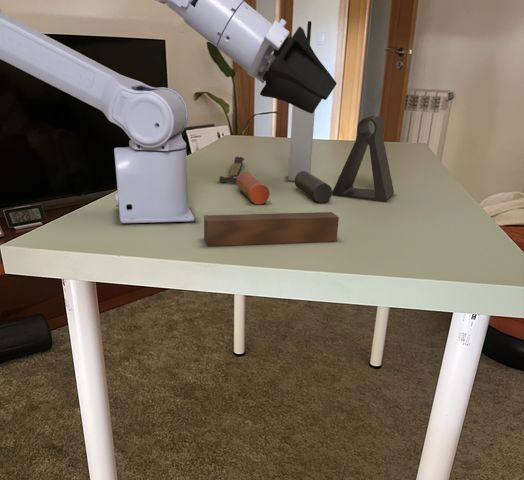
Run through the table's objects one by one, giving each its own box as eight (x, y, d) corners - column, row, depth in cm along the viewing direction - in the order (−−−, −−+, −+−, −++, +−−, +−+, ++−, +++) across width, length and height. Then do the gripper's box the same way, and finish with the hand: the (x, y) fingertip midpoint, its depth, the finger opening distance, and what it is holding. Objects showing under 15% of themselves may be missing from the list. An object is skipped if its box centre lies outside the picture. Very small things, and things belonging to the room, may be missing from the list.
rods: (249, 204, 83) (250, 184, 82) (235, 190, 91) (236, 171, 90) (331, 203, 86) (333, 183, 85) (310, 189, 95) (311, 170, 93)
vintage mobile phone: (309, 177, 104) (321, 22, 92) (309, 182, 99) (321, 20, 87) (289, 176, 104) (298, 21, 92) (288, 181, 99) (297, 19, 88)
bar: (207, 246, 64) (207, 220, 63) (204, 240, 66) (203, 215, 65) (336, 241, 68) (339, 217, 67) (329, 235, 70) (331, 211, 69)
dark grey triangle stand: (331, 195, 91) (339, 116, 85) (342, 188, 96) (349, 113, 90) (386, 202, 88) (397, 120, 82) (393, 194, 93) (405, 117, 87)
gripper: (257, -35, 57) (360, 52, 60) (245, 18, 71) (328, 86, 74) (218, 26, 58) (322, 108, 61) (214, 66, 72) (298, 131, 75)
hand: (323, 99), depth 67 cm, fingers open, 7 cm apart
